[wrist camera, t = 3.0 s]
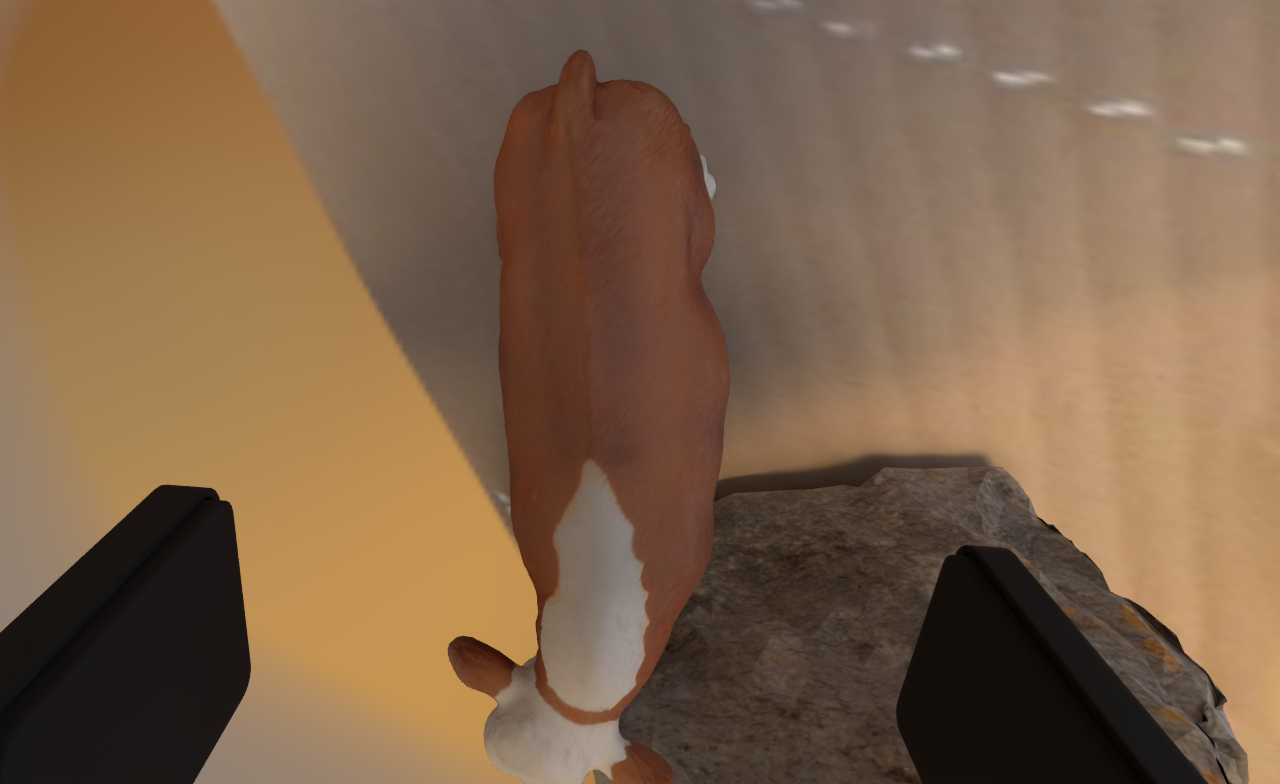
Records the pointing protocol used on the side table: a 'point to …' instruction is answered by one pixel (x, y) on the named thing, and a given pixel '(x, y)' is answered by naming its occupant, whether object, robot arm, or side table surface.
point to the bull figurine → (600, 415)
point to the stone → (875, 632)
